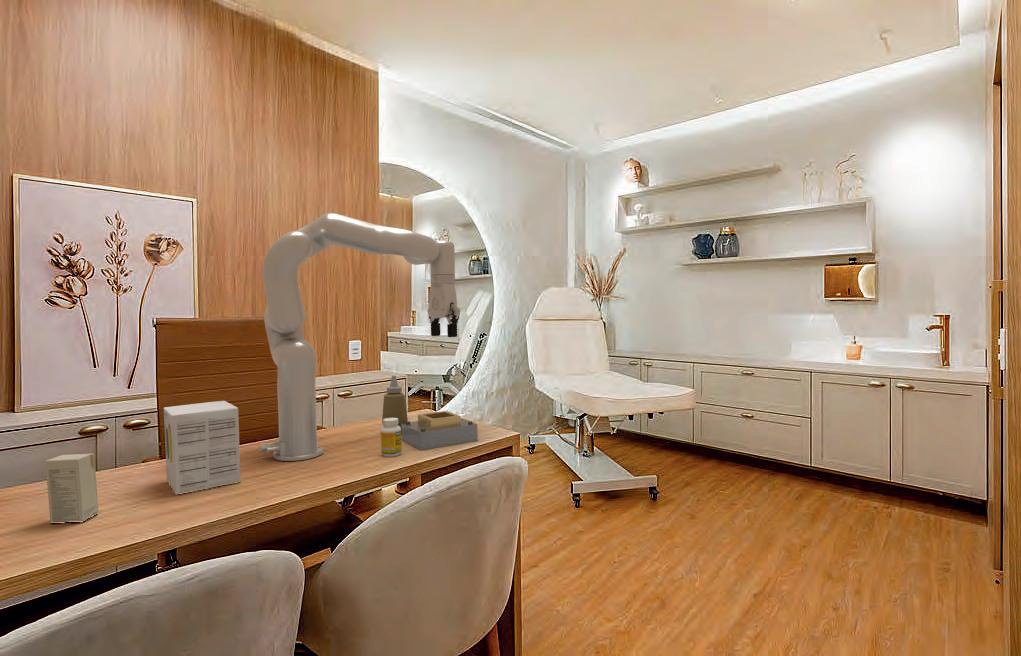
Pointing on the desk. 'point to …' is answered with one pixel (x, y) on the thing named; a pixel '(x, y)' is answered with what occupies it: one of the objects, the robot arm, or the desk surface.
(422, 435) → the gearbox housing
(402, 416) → the squeeze bottle
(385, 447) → the supplement bottle
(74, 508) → the skincare box
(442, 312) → the robot arm
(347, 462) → the desk surface
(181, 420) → the supplement box
